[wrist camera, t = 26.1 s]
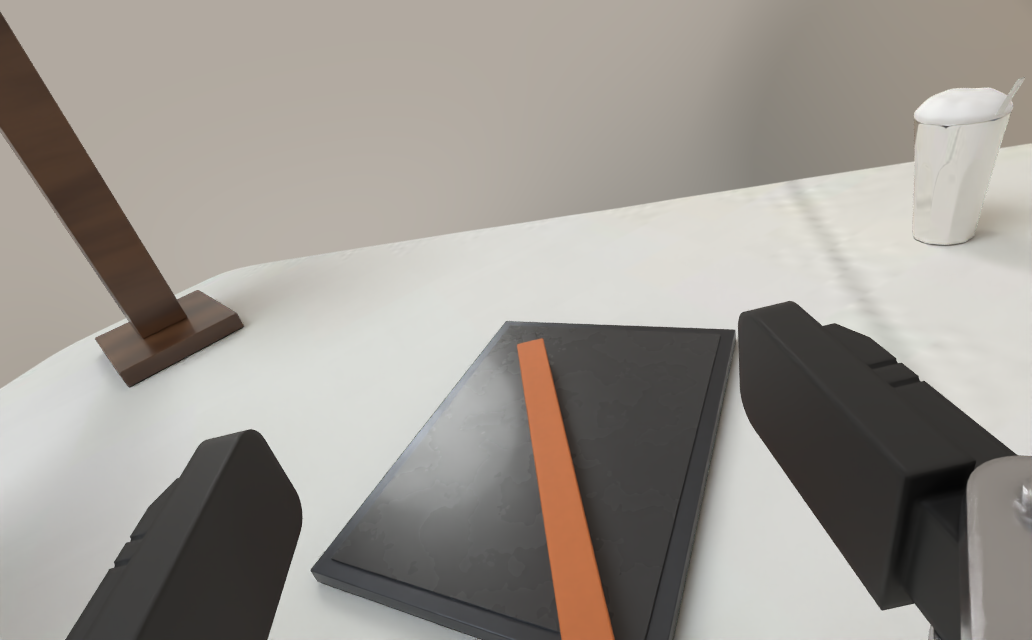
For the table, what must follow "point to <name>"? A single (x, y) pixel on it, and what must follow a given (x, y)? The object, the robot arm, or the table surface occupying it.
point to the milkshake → (956, 160)
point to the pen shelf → (102, 229)
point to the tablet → (515, 494)
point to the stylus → (561, 504)
